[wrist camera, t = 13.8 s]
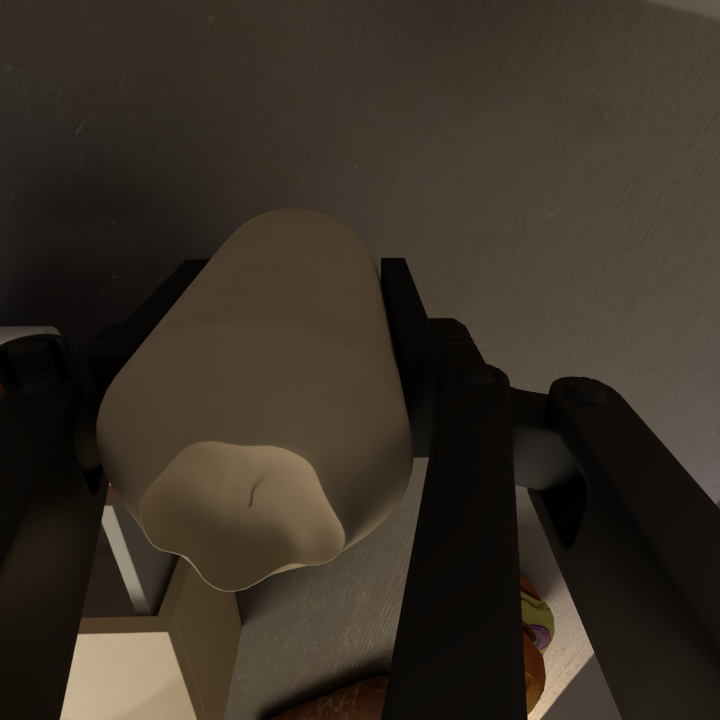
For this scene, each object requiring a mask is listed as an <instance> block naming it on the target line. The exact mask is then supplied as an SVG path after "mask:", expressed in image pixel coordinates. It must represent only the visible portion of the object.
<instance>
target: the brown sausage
mask: <svg viewBox="0 0 720 720" xmlns="http://www.w3.org/2000/svg"><path fill="white" fill-rule="evenodd" d="M388 678H389V676H383V675H381V676H377V677H372V678H369V679H365V680H362V681H360V682H357V683H355V684H352V685H350V686H347V687H345V688H342V689H340V690H337V691H335V692H333V693H331V694H328V695H326V696H323V697H321V698H317V699H315V700H312V701H310V702H307V703H304V704H302V705H299V706H297V707H295V708H292V709H290V710H288V711H286V712H284V713H282V714H280V715H277V716H275V717H272V718H270V719H268V720H381V716H382V711H383V705H384V700H385V694H386V689H387V683H388Z"/></svg>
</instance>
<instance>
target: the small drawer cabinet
mask: <svg viewBox="0 0 720 720" xmlns="http://www.w3.org/2000/svg"><path fill="white" fill-rule="evenodd" d="M241 631H242V625H241V620H240V615H239V610H238V605H237V601H236V596H235V592H228V591H221V590H219V589H216V588H214V587H212V586H211V585H209V584H208V583H207V582H206V581H205V580H204V579H202V577H201V576H200V575H199V573H198V572H197V570H196V569H195V568H194V566H193V565H192V564H191V563H189V562H188V561H187V560H186V559H185V558H183V557H182V556H180V557H179V559H178V562H177V565H176V567H175V570H174V573H173V575H172V578H171V581H170V583H169V586H168V589H167V591H166V594H165V597H164V599H163V602H162V605H161V607H160V610H159V613H158V616H142V617H98V618H81V622H80V627H79V631H78V636H77V641H76V646H75V651H74V655H73V660H72V665H71V670H70V674H69V679H68V684H67V689H66V694H65V698H64V703H63V708H62V713H61V717H60V720H224V715H225V710H226V705H227V700H228V695H229V690H230V685H231V680H232V675H233V670H234V666H235V661H236V656H237V651H238V646H239V641H240V636H241Z"/></svg>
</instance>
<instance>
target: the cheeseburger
mask: <svg viewBox="0 0 720 720" xmlns="http://www.w3.org/2000/svg"><path fill="white" fill-rule="evenodd" d="M520 588H521V607H522V625H523V644H524V663H525V682H526V700H527V715H528V714H529V713H530V712H531V711H532V710H533V708H534V707H535V705H536V704H537V702H538V700H539V699H540V697H541V695H542V693H543V691H544V686H545V679H546V674H545V667H544V660H543V657H542V656H543V653H544V652H545V650H546V649H547V647H548V646H549V644H550V643H551V641H552V638H553V635H554V632H555V631H554V617H553V615H552V612H551V610H550V608H549V607H548V605H546V603H545V602H544V601H541V600H540V598H539V596H538V594H537V592H536V590H535V589H534V587H533V585H532V583H530V582H529V581H528V580H526V579H525V578H524V577H523V576H521V575H520Z"/></svg>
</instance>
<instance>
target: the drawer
mask: <svg viewBox="0 0 720 720" xmlns="http://www.w3.org/2000/svg"><path fill="white" fill-rule="evenodd" d="M35 334H56V335H60V333H59V331H58V330H57V329H56V328H55V327H53V326H0V345H1V344H3V343H5V342H7V341H10V340H13V339H16V338H20V337H24V336H29V335H35ZM60 336H61V335H60ZM3 390H4V389H3V387H2V385H1V383H0V395H1V393H2V392H3ZM179 557H180V555H177V554H174V553H170V552H166V551H161V550H159V549H157V548H156V547H155V546H153V545H152V544H151V543H150V542H149V540H148V539H147V537H146V536H145V534H144V532H143V530H142V529H141V527H140V526H139V525H138V523H137V522H136V521H135V519H134V518H133V517H132V515H131V514H130V513H129V511H128V510H127V508H126V507H125V505H124V504H123V503H122V501H121V500H120V498H119V497H118V496H117V494H116V493H115V491H114V490H113V488H112V486H111V484H110V483H109V488H108V493H107V498H106V502H105V507H104V512H103V517H102V522H101V526H100V531H99V536H98V541H97V545H96V550H95V555H94V560H93V565H92V569H91V574H90V579H89V584H88V588H87V593H86V598H85V603H84V608H83V612H82V617H81V618H98V617H142V616H158V613H159V610H160V607H161V605H162V602H163V599H164V597H165V594H166V591H167V589H168V586H169V583H170V581H171V578H172V575H173V573H174V570H175V567H176V565H177V562H178V559H179Z"/></svg>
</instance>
